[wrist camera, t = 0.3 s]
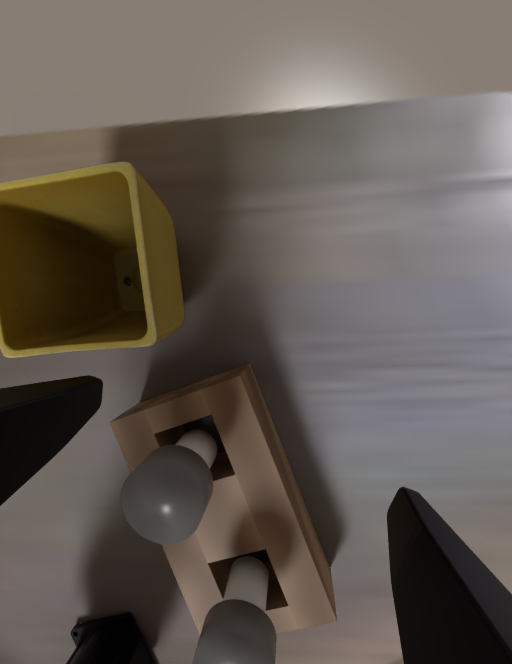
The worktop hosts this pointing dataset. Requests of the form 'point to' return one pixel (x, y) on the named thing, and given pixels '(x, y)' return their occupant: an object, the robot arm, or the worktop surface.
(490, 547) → the worktop surface
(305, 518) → the mount
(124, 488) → the knob
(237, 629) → the knob
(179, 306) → the flower pot
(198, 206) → the worktop surface
